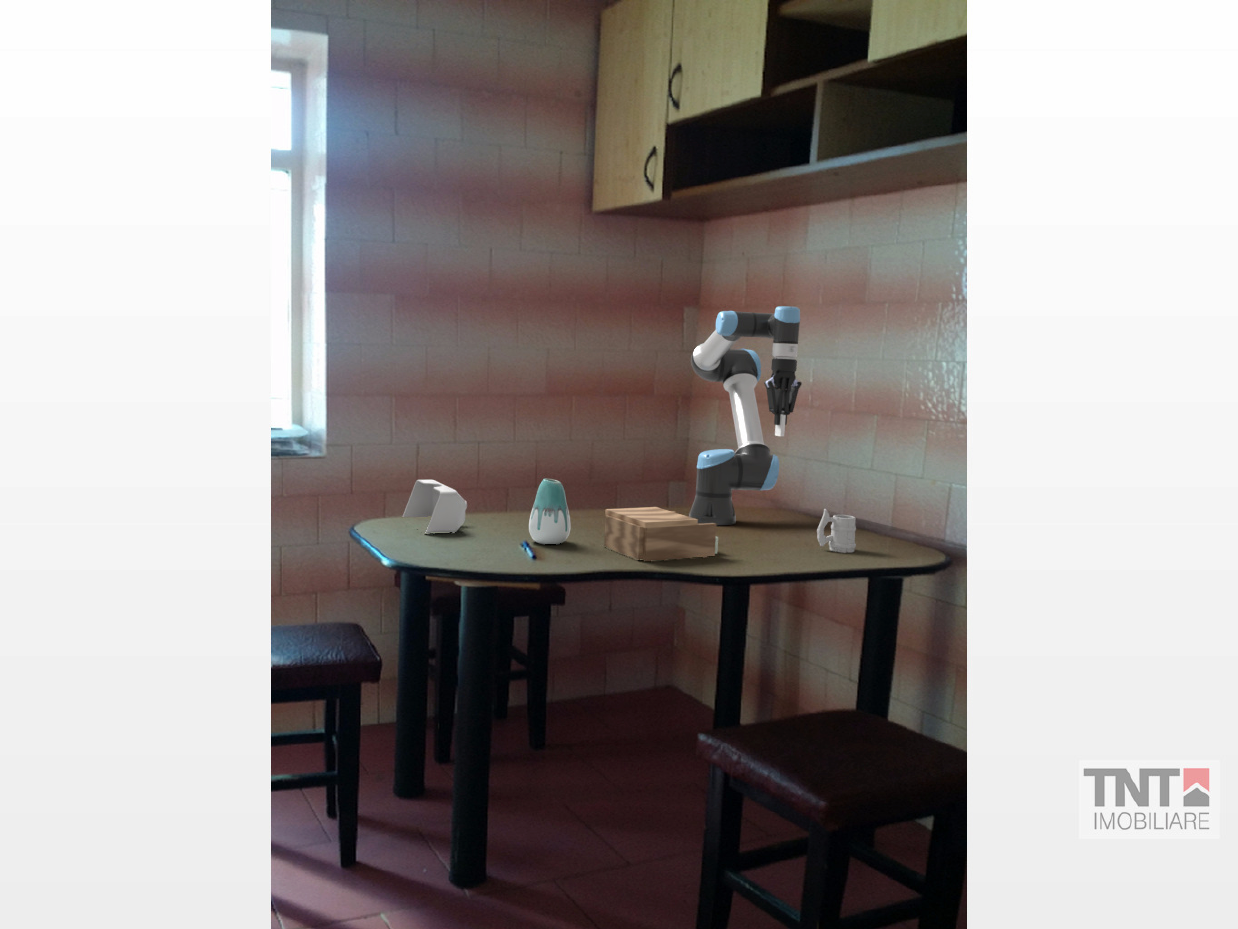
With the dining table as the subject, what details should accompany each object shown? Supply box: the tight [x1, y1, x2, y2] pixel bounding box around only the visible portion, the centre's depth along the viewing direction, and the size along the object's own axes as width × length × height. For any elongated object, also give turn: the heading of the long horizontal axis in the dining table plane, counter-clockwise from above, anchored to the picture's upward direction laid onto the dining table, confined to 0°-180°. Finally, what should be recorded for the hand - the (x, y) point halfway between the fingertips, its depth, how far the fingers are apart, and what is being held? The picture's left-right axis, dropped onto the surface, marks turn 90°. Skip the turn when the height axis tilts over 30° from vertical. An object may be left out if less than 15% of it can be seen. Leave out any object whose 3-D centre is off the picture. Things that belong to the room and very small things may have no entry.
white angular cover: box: [402, 479, 468, 533], centre depth 311 cm, size 25×16×12 cm, turn 27°
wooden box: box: [603, 506, 718, 562], centre depth 289 cm, size 21×24×10 cm
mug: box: [816, 508, 857, 554], centre depth 303 cm, size 8×12×12 cm, turn 103°
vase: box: [528, 478, 571, 545], centre depth 294 cm, size 12×12×18 cm
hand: (779, 435), depth 321 cm, fingers closed
